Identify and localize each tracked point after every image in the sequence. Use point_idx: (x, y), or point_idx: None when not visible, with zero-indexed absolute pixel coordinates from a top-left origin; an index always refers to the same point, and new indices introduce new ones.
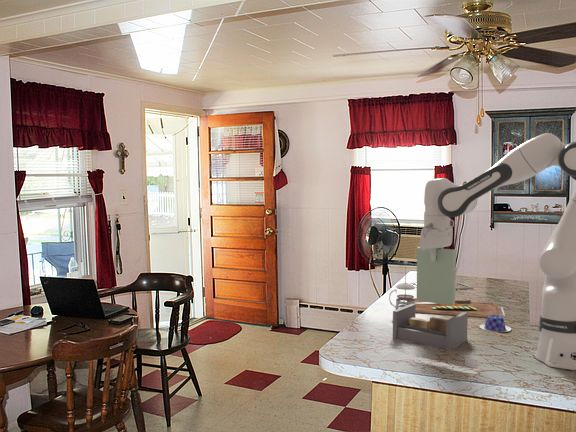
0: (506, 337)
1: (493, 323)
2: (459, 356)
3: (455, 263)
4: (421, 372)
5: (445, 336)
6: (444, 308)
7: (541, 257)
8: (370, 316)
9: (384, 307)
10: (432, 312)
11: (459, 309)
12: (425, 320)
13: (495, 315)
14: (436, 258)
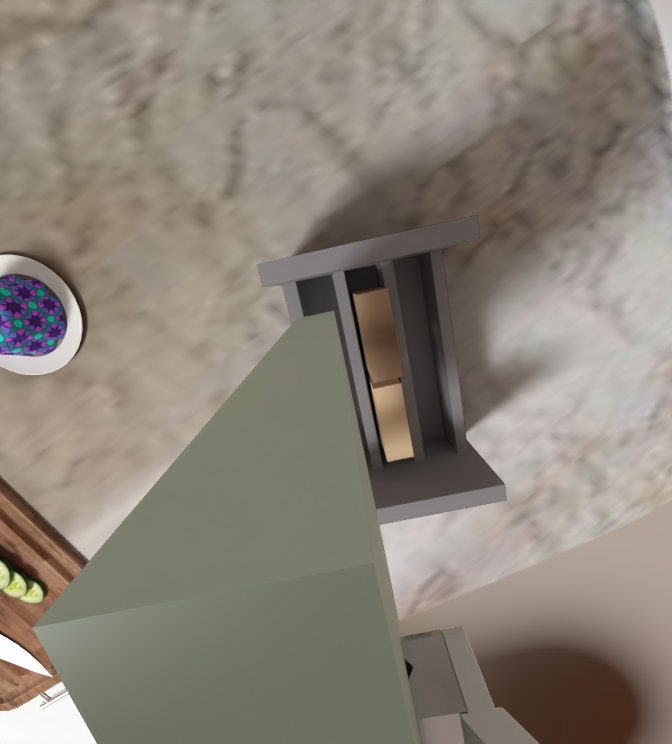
0: (82, 220)
1: (30, 307)
2: (424, 199)
3: (238, 394)
4: (658, 182)
5: (437, 259)
6: (9, 566)
7: None
8: None
9: None
10: (78, 566)
11: None
12: (388, 400)
13: None
14: (428, 669)
